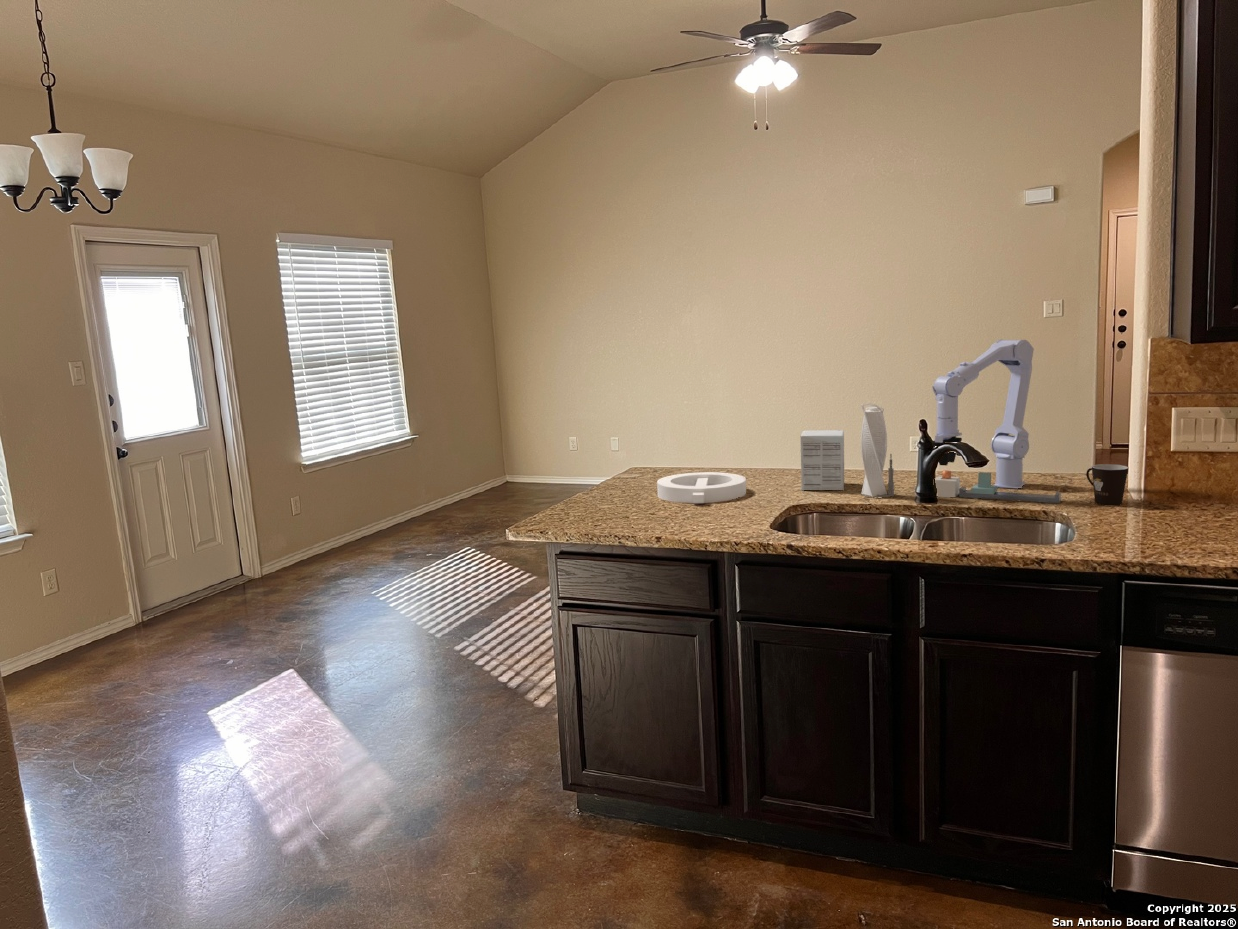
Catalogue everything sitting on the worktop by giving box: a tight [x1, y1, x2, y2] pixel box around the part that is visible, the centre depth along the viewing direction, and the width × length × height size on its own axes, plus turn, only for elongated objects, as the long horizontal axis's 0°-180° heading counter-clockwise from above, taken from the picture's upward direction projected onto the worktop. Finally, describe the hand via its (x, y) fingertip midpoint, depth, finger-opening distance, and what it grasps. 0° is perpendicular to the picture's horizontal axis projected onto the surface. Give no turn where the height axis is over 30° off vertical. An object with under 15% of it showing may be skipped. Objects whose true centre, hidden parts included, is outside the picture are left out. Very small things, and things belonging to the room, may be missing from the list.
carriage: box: [970, 471, 999, 494], centre depth 250 cm, size 6×6×5 cm
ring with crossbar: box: [656, 471, 747, 504], centre depth 277 cm, size 28×28×5 cm
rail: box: [958, 486, 1062, 504], centre depth 247 cm, size 4×26×2 cm, turn 57°
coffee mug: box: [1085, 463, 1129, 506], centre depth 237 cm, size 12×9×10 cm
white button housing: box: [934, 475, 961, 498], centre depth 256 cm, size 6×6×5 cm
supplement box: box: [799, 429, 845, 491], centre depth 277 cm, size 13×13×18 cm
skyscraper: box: [860, 402, 896, 498], centre depth 259 cm, size 8×8×28 cm
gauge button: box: [941, 469, 952, 479], centre depth 256 cm, size 2×2×2 cm
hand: (946, 463), depth 255 cm, fingers open, 5 cm apart
